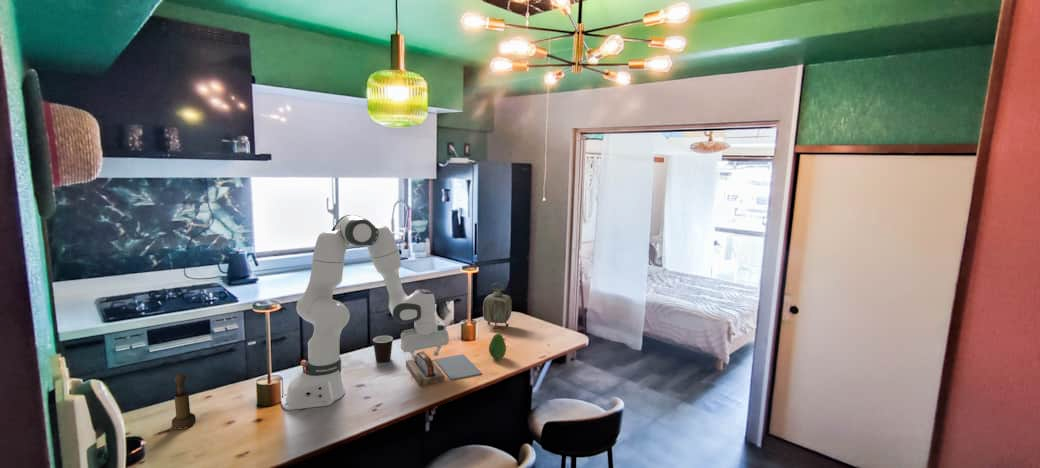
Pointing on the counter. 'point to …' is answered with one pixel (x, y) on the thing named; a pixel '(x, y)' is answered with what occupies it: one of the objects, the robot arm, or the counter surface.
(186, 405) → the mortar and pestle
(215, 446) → the counter surface
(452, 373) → the mat
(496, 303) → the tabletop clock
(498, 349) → the avocado
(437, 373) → the frame
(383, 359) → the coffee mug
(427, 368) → the tin
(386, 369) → the counter surface
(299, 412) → the counter surface
